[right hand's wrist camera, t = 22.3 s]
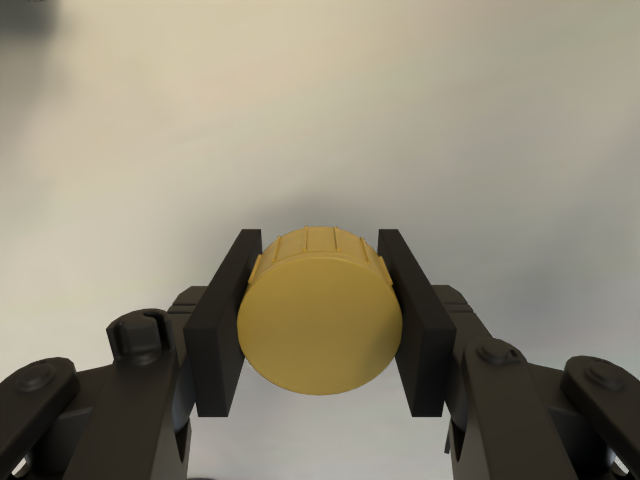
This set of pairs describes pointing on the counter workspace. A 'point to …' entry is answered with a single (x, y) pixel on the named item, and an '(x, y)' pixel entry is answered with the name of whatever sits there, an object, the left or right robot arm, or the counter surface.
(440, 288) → the right robot arm
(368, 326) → the lid
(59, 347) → the counter surface
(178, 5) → the counter surface
